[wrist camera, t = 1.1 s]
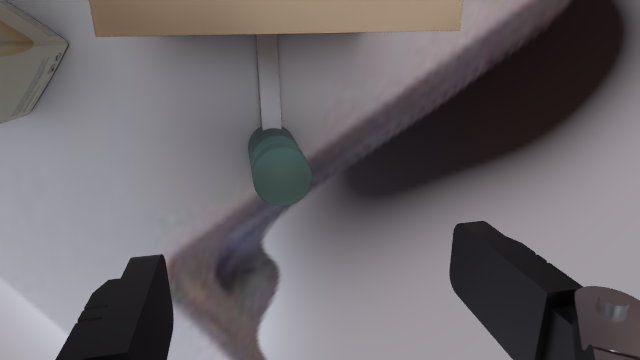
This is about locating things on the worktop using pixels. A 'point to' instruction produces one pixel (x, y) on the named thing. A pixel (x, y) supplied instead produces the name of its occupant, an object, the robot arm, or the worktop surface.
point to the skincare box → (24, 61)
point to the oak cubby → (271, 16)
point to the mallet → (275, 137)
